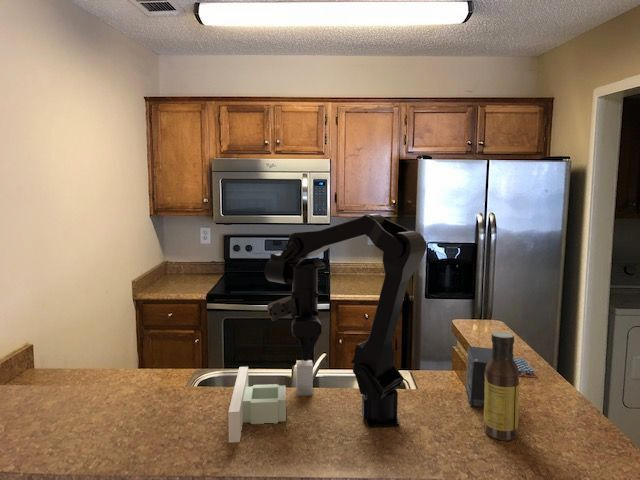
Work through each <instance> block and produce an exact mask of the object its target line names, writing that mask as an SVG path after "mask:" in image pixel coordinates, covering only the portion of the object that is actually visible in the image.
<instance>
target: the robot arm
mask: <svg viewBox="0 0 640 480" xmlns="http://www.w3.org/2000/svg"><path fill="white" fill-rule="evenodd" d="M363 237H368V239H369V240H370V241H371V242H372V244H373V245H374V246H375V247H376V248H378V249H379V250H381V251H382V261H381V262H382V265H383V269H384V278H383V282H382V286H381V289H380V294H379V298H378V302H377V305H376V308H375V311H374V312H375V313H374V318H373V320H372V325H371V329H370V333H369V336H368V339H367V340H365V341H362V342H360V343H358V344H356V345H355V348H354V356H353V359H351V361H350V363H351V364H352V373H353V374H354V376H355V379H356V382H357V385H358V386H357V387H358V390H359V393H360V395H361V416H362V418H363V420H364V421H365V423H366V426H367V427H370V428H371V427H372V428H374V427H398V426H400V421H399V419H398V404H399V403H398V399H399V397H398V394H399V392H398V390H397V389H398V388H401V387H402V384H403V383H404V379H405V377H404V376H403V375H402V373H401V372H400V371H399V370H398V368H397V366H395V364H394V363H395V362H394V361H395V351H394V347H393V339H394V337H395V332H396V329H397V325H398V322H399V318H400V314H401V311H402V306H403V303H404V299H405V296H406V292H407V290H408V284H409V282H410V279H411V277H412V276H413V275H414V273H415V271H416V270H417V269H418V267H419V266H420V264H421V262H422V261H423V257H424V256H425V254H426V251H427V247H428V245H427V241H426V240H425V238H424V236H423V235H422V234H421V233H420V232H418V231H415V230H409V229H408V228H406V227H404V226H402V225H400V224H398V223H395V222H394V221H392V220H389V219H387V218H386V217H385V216H383V215H381V213H380V214H379V213H371V214H370V213H369V214H364V215H362V216H361V217H358V218H355V219H352V220H349V221H345V222H343V223H339V224H336V225H333V226H330V227H327V228H323V229H320V230H311V231H310V230H308V231H307V230H306V231H299V232H293V233H291V234H290V235H289V236H288V240H287V244H286V245H285V247H284V248H283V250H282V252H281V253H279V252H278V253H277V252H276V253H270V258H269V259H268V260H267V262H266V264H265V267H264V268H263V269H264V270H263V273H264V276H265V277H264V278H266V280H267V281H269V282H274V283H279V284H285V285H290V284H291V287H292V288H291V290H290V296H286V297H283V298H280V299H277V300H275V301H272V302H270V303H268V304H267V306H266V307H267V308H266V309H267V312H268V315H269V316H270V318H271V321H272V322H276V321H277V320H279V319H281V318H284V317H287V316H289V315H290V317H291V318H290V319H291V320H292V321H291V335H292V336H293V337H295V338H296V339H297V340H299V345H300V349H301V350H300V351H301V355H302V360H304V361H308V360H310V358H311V355H312V353H313V351H314V349H315V346H316V344H317V342H318V340H319V338H320V337H321V334H322V323H321V320H320V319H319V318H318V317H317V316H319V310H318V299H319V292H318V288H319V287H318V270H321V269H325V268H326V267H327V266H326V264H325V263H324V262H323V261H322V260H321V259H320V257H315V256H318V255H320V254H321V253H324V252H326V251H327V250H329V248H330V247H332V246H335V245H338V244H342V243H345V242H349V241H351V240H355V239H359V238H360V239H361V238H363ZM310 257H313V258H311V259H308V258H310Z"/></svg>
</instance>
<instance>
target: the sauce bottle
mask: <svg viewBox="0 0 640 480" xmlns="http://www.w3.org/2000/svg"><path fill="white" fill-rule="evenodd" d="M491 342H492V344H491V346H492V347H491V348H492V358H491V359H490V360H489V362H488V363H487V364H486V369H485V386H484V408H483V423H484V424H483V429H484V431H485V433H486V434H487V435H488V436H489V437H491V438H493V439H497V440H500V441H511V440H514V439H515V438H516V437H517V434H518V428H519V407H520V406H519V405H520V400H519V399H520V376H519V369H518V367H517V365H516V363H515V362H514V360H513V357H514V344H515V334H513V333H511V332H508V331H503V330H502V331H494V332H491Z"/></svg>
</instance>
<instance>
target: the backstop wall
mask: <svg viewBox="0 0 640 480" xmlns="http://www.w3.org/2000/svg"><path fill="white" fill-rule="evenodd" d="M248 386H249V366H239V368H238V372H237V375H236V380H235V383H234V387H233V391H232V396H231V399H230V404H229V407H228V412H227V413H228V418H227V419H228V443H231V444H232V443H240V441H241V436H242V432H241V431H243V430H242V429H243V426H242V425H244V422H243V398H244V393H245V388H246V387H248Z"/></svg>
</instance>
